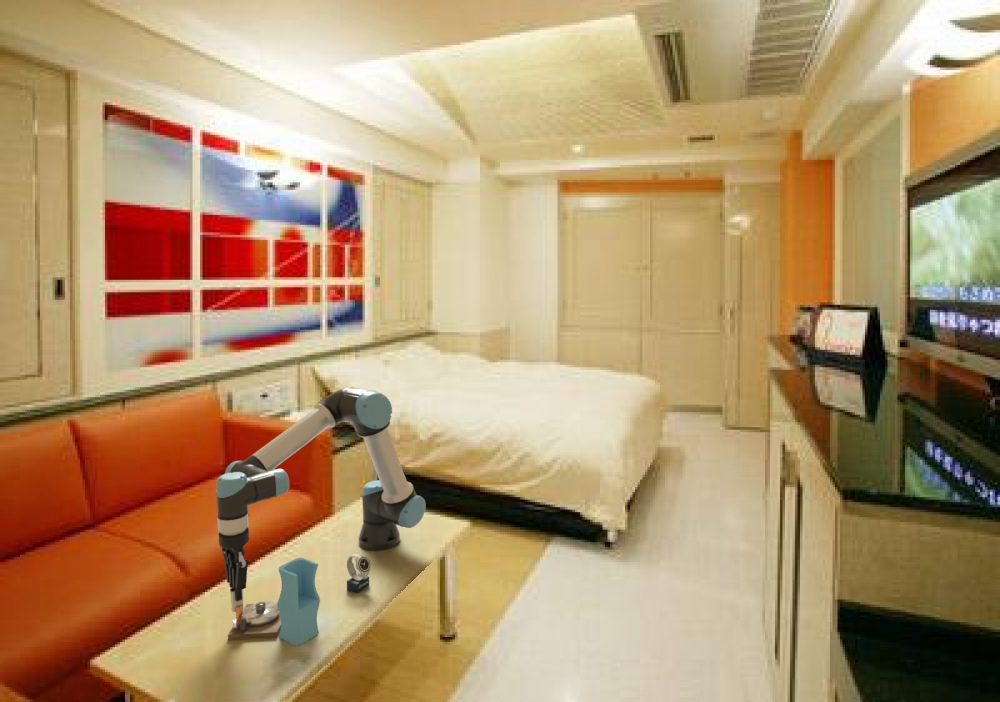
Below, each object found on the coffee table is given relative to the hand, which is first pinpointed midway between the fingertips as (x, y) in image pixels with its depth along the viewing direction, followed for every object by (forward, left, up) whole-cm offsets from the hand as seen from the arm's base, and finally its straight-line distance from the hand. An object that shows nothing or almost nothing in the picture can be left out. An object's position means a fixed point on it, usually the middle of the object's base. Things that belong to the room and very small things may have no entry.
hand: (237, 609), depth 159 cm
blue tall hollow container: (+4, +18, -6) cm, 19 cm away
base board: (-3, +5, -6) cm, 9 cm away
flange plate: (-2, +4, -4) cm, 6 cm away
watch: (-19, +30, -6) cm, 37 cm away
